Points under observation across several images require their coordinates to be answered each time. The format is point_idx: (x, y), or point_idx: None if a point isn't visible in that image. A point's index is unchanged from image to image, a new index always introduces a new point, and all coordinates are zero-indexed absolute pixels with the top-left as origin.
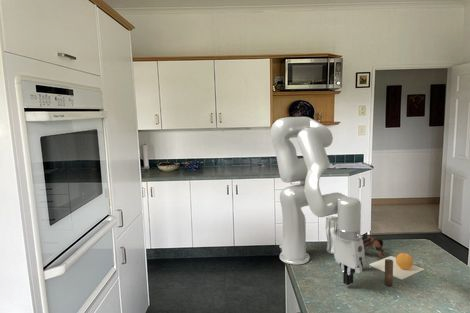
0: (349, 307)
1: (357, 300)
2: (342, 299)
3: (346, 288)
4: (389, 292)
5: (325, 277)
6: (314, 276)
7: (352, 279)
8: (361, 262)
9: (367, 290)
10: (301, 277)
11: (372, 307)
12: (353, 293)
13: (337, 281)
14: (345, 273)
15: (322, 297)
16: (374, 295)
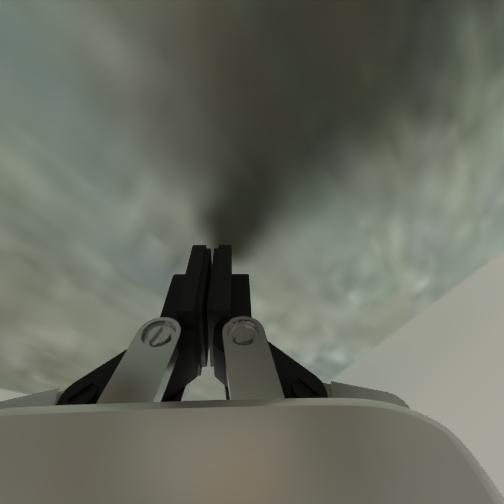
0: (344, 363)
1: (342, 308)
2: (285, 350)
3: None
4: (497, 32)
5: (36, 282)
6: (4, 322)
7: (249, 293)
8: (388, 459)
9: (330, 178)
10: (2, 373)
11: (431, 297)
12: (287, 279)
13: (118, 256)
14: (201, 363)
15: (220, 392)
16: (399, 193)
